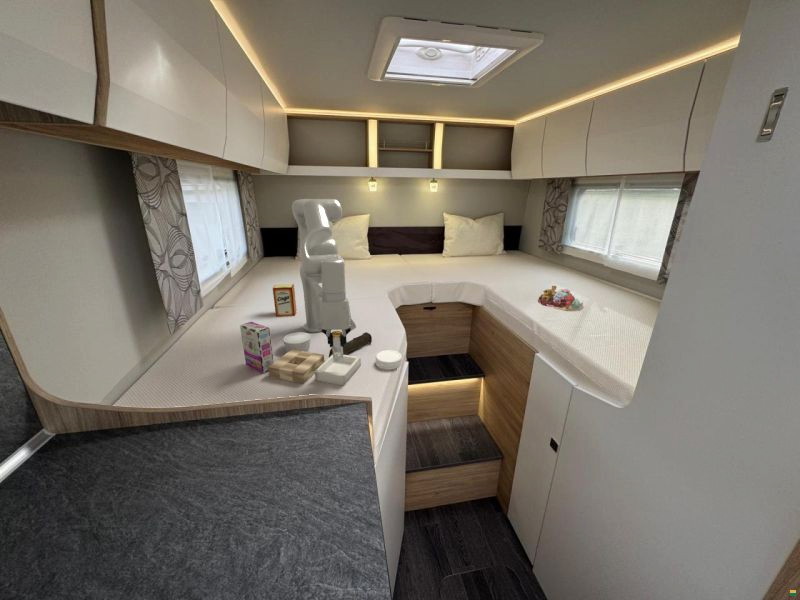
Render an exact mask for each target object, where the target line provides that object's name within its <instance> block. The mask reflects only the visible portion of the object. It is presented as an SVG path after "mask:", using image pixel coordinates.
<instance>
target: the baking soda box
mask: <svg viewBox="0 0 800 600" xmlns="http://www.w3.org/2000/svg"><path fill="white" fill-rule="evenodd" d="M272 295H273V302H274V311H275V317H276V318H277V317H294V316H295V317H296V314H297V312H296V311H297V301H296V292H295V284H294V283H285V284H282V283H281V284H274V285H273V287H272Z"/></svg>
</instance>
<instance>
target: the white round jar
mask: <svg viewBox="0 0 800 600" xmlns="http://www.w3.org/2000/svg"><path fill="white" fill-rule="evenodd" d="M402 358H403V356H402V354H401V353H400V352H399V351H396V350H393V349H386V350H381V351H379V352H378V353H376V355H375V365H376V366H377V368H379V369H381V370H385V371H388V370H389V371H393V370H396V369H398V368H400V367H401V366H402V364H403V361H402V360H403V359H402Z"/></svg>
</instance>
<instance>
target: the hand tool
mask: <svg viewBox="0 0 800 600" xmlns="http://www.w3.org/2000/svg"><path fill="white" fill-rule="evenodd" d="M372 339H373V337H372V334H371V333H370V332H366V331H365V332H363V333H362V334H361V335H359V336H356V337H354V338H352V339H351V340H349V341H347V343H346V344H345V345H344V347H343V355H347V354H349V353H351V352H353V351H355V350H356V349H359V348H361V347H363V346H365V345H366V344H372V342H373V340H372ZM332 355H333V351H332V347H330V350H329V353H328V358H329V357H330V356H332Z"/></svg>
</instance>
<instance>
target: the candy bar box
mask: <svg viewBox="0 0 800 600" xmlns="http://www.w3.org/2000/svg"><path fill="white" fill-rule="evenodd" d="M239 328H240V333H241V340H242V341H241V343H242V347H243V355H244V360H245V365H246V366H247V367H250V368H251V369H253V370H256V371H258V372H260V373H262V374H265V373H267V372H269V369H268V367H269V366H270V365H272V364H273V363H274V362H275V361H274V356H273V348H272V347H273V345H272V340H271V339H272V338H271V331H270V327H268V326H265V325H262V324H259V323H257V322H254V321H249V322H246V323H243V324H240V325H239Z"/></svg>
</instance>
